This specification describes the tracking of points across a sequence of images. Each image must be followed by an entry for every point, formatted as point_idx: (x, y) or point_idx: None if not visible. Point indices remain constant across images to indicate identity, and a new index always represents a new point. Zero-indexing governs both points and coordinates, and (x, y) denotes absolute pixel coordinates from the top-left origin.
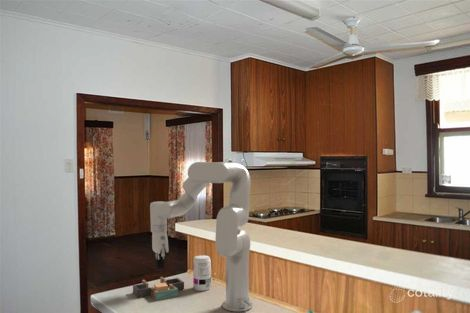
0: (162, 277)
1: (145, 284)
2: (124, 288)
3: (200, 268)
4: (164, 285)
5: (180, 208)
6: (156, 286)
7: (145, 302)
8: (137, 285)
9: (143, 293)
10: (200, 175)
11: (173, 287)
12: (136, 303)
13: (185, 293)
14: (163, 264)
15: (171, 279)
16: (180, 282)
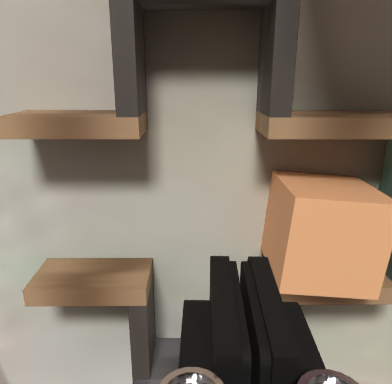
0: (17, 122)
1: (147, 309)
2: (18, 371)
3: None
4: (376, 231)
5: None
6: (354, 296)
7: (359, 330)
8: (149, 366)
9: None
10: None
11: (384, 138)
12: None
13: (379, 20)
14: (273, 287)
15: (134, 61)
16: (288, 12)
